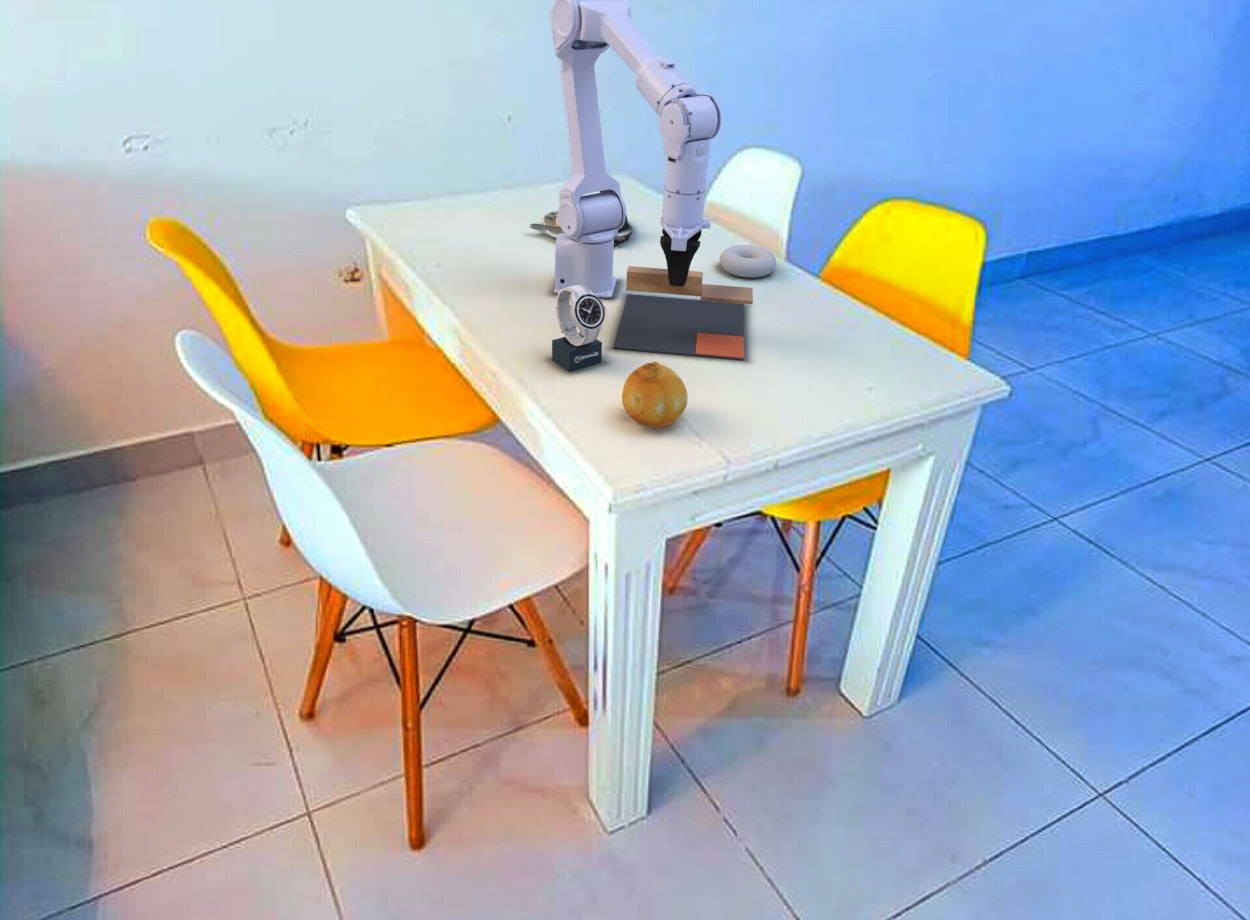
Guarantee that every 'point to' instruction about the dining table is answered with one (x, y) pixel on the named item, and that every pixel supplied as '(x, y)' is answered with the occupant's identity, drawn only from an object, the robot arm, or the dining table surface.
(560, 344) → the watch
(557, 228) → the salad plate
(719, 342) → the corner mat
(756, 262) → the donut
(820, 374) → the dining table surface
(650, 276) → the spatula
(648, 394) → the fruit
